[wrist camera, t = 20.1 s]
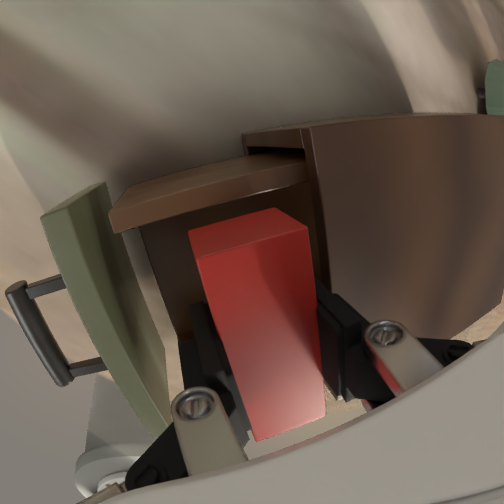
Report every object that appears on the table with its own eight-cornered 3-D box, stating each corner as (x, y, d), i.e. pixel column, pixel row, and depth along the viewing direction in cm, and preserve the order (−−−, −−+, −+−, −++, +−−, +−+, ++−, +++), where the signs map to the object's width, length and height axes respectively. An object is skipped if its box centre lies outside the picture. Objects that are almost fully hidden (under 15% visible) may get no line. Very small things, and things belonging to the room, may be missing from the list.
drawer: (90, 367, 20) (75, 450, 13) (20, 213, 15) (-47, 255, 8) (326, 297, 23) (387, 356, 16) (304, 132, 19) (383, 131, 11)
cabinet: (276, 314, 23) (336, 401, 15) (240, 133, 18) (309, 126, 10) (422, 259, 26) (500, 303, 17) (414, 112, 21) (513, 116, 12)
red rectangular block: (186, 230, 10) (195, 259, 8) (274, 206, 10) (308, 226, 8) (239, 399, 13) (256, 442, 11) (302, 377, 14) (326, 416, 11)
